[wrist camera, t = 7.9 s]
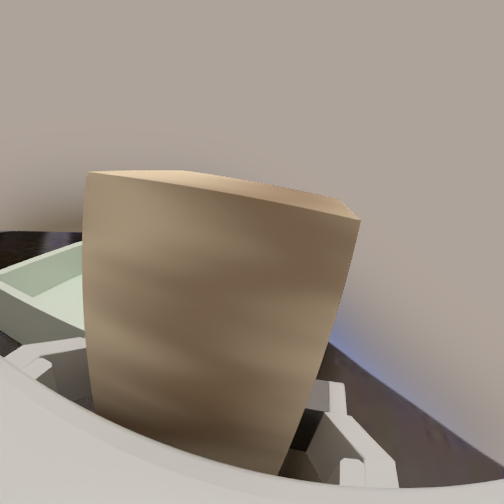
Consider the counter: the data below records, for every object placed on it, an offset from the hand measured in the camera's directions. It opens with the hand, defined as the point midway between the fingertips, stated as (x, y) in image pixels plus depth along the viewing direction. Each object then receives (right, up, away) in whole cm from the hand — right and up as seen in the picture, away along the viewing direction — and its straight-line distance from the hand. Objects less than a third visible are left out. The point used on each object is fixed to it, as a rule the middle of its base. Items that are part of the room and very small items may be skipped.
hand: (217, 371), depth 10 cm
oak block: (-1, -6, +1) cm, 6 cm away
